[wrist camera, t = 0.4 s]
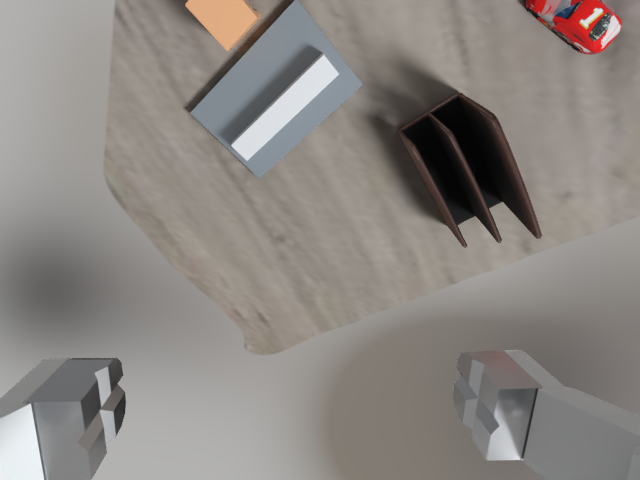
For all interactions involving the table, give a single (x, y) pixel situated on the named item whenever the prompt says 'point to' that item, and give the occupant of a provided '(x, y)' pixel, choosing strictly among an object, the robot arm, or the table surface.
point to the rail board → (277, 91)
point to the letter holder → (467, 165)
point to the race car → (578, 22)
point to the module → (225, 18)
